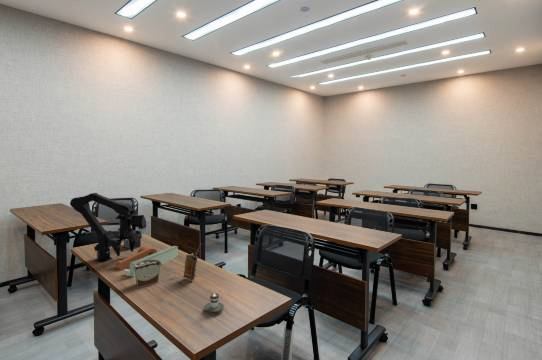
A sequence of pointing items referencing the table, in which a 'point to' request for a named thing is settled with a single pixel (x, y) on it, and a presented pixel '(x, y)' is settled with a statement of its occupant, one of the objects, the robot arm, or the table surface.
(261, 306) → the table surface
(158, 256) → the chute mount
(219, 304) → the grey knobbed lid
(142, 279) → the food container
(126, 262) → the crank
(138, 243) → the small box
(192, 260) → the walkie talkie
